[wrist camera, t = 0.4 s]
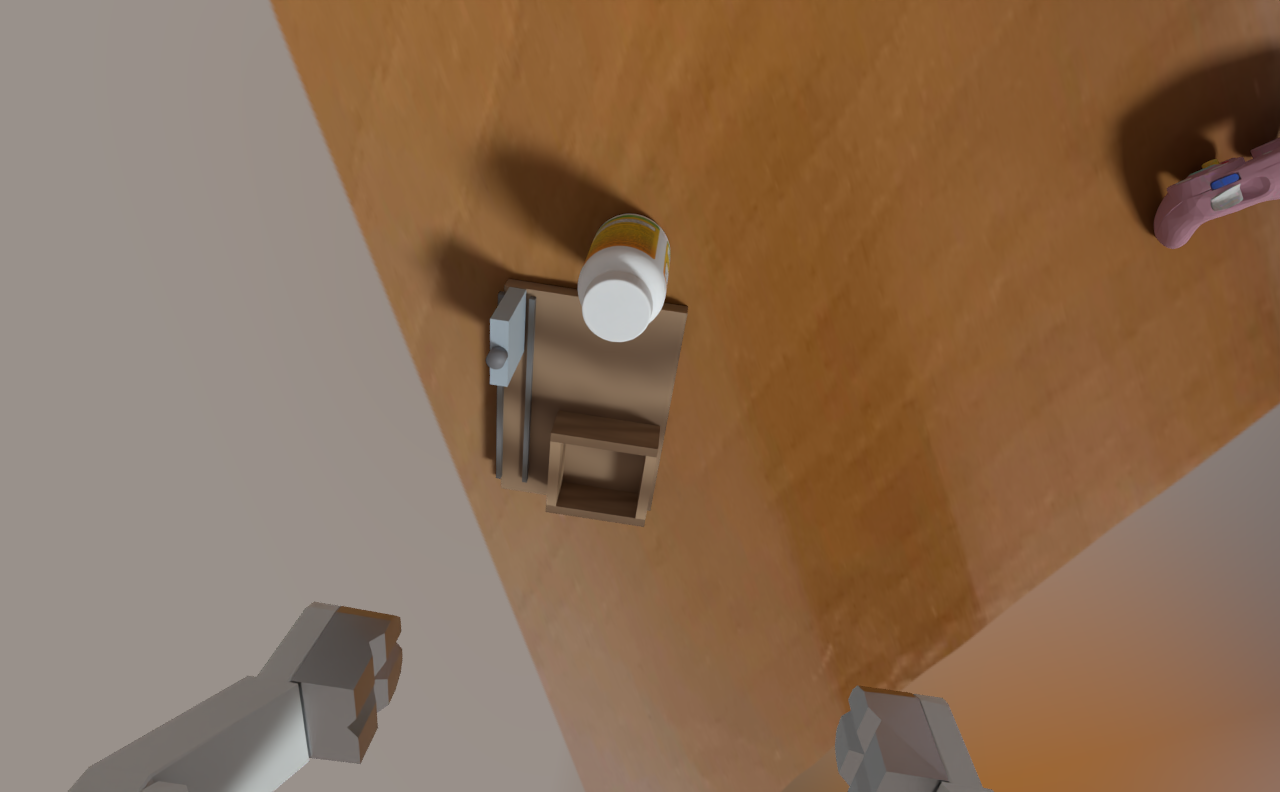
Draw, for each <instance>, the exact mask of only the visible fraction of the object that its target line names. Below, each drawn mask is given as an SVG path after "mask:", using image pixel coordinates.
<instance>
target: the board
mask: <svg viewBox="0 0 1280 792" xmlns="http://www.w3.org/2000/svg"><path fill="white" fill-rule="evenodd" d="M509 287H514V288H520V289H526V316H525V343H524V353H523V355H522V357H521V359H520V361H519V363H518V365H517V368H516V370H515V372H514V374H513V376H512V378H511V380H510V382H509V385H508V387H505V386H498V385H497V444H496V478H499V479H501V488H504V489H511V490H517V491H524V492H530V493H537V494H543V495H547V499H546V512H550V513H556V514H563V515H569V516H576V517H582V518H589V519H595V520H602V521H608V522H615V523H621V524H628V525H635V526H641V527H644V523H645V518H646V513H647V510H648V511H650V509H651V504H652V499H653V493H654V488H655V483H656V477H657V472H658V467H659V462H660V456H661V451H662V446H663V440H664V435H665V430H666V424H667V419H668V414H669V408H670V403H671V398H672V392H673V387H674V382H675V376H676V371H677V366H678V360H679V355H680V350H681V345H682V339H683V334H684V329H685V323H686V318H687V310H688V306H683V305H676V304H670V303H664V304H663V307H662V309H661V311H660V312H659V314H658V315H657V316H656V317H655V319H654V320H653V321H651V322H650V323H649V324H648V326H647V328H646V329H645V330H644V331H643V332H642V334H640V335H639V336H637V337H636V338H634V339H632V340H629V341H625V342H612V341H608V340H605V339H602V338H600V337H599V336H597V335H596V334H594V333H593V332H592V331H591V330H590V329H589V328H588V326H587V325H586V323H585V321H584V318H583V315H582V306H581V303H580V300H579V297H578V289H572V288H566V287H559V286H553V285H546V284H540V283H533V282H527V281H520V280H514V279H508V280H507V282H506V283H505V285H504V292H501V291H500V292H499V294H498V305H499V303H500V302H501V300H502V298H503V297H504V295H505V293H506V292H507V290H508V289H509Z"/></svg>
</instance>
